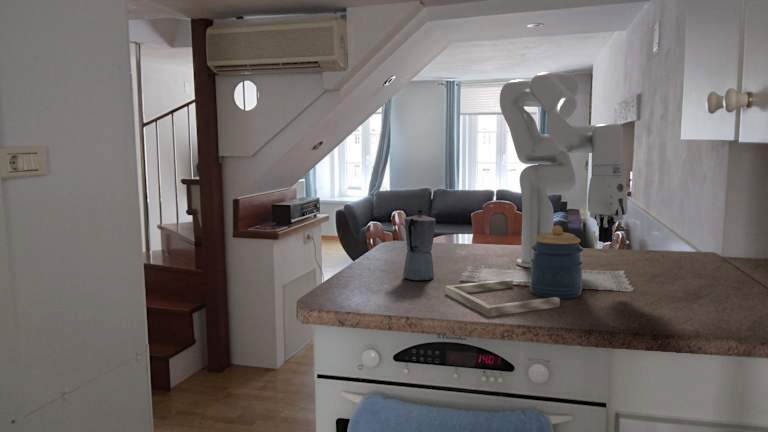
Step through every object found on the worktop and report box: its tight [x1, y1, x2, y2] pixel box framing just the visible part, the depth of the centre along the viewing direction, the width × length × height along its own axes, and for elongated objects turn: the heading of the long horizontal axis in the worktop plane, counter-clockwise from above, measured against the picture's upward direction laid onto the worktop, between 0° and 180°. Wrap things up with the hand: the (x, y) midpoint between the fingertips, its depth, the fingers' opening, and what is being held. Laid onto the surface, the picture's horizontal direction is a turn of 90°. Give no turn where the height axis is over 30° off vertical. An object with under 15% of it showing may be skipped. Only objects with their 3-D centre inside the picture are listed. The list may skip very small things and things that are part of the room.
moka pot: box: [402, 209, 437, 281], centre depth 160 cm, size 10×15×20 cm, turn 161°
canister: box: [529, 224, 584, 300], centre depth 144 cm, size 13×13×18 cm
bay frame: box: [444, 278, 561, 317], centre depth 139 cm, size 20×21×2 cm
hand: (605, 241), depth 148 cm, fingers closed
